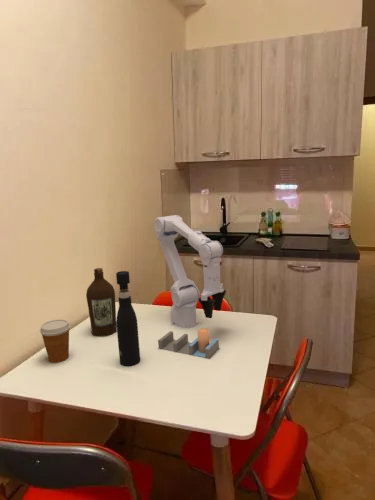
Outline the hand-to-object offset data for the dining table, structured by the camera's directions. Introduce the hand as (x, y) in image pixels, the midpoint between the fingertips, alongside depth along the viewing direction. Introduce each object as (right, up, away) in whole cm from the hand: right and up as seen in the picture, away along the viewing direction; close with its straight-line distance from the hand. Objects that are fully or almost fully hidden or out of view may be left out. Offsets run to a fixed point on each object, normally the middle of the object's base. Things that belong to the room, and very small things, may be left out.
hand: (213, 313), depth 132 cm
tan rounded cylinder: (-4, -10, -10) cm, 15 cm away
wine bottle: (-27, -14, -13) cm, 33 cm away
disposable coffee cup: (-52, -14, -7) cm, 54 cm away
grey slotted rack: (-9, -11, -7) cm, 16 cm away
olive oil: (-41, -9, +13) cm, 44 cm away
